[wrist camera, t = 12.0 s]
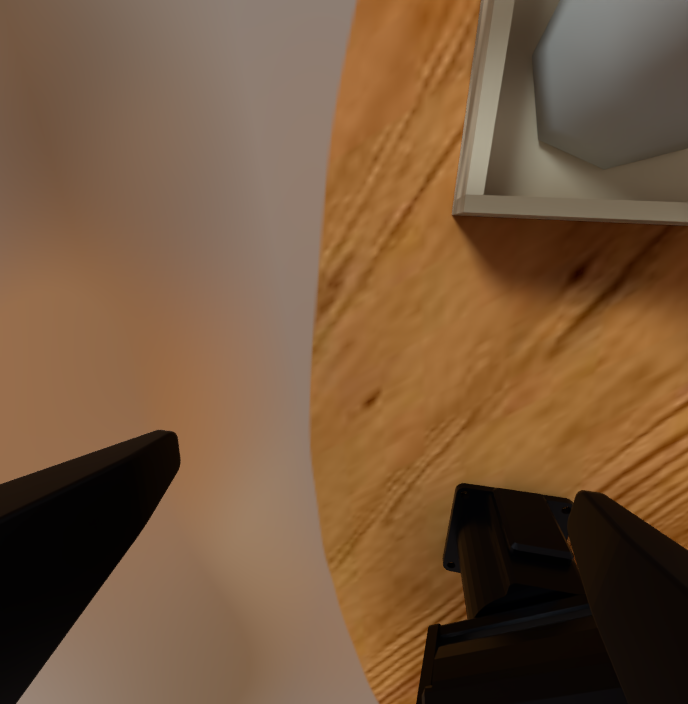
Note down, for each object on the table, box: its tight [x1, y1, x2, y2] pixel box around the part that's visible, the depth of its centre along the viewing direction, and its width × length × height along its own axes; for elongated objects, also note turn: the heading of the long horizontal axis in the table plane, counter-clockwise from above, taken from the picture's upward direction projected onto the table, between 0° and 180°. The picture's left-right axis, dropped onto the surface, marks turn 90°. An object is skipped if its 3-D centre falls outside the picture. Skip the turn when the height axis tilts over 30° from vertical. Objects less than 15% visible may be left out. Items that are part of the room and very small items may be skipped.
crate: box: [452, 0, 688, 226], centre depth 12 cm, size 11×11×4 cm
